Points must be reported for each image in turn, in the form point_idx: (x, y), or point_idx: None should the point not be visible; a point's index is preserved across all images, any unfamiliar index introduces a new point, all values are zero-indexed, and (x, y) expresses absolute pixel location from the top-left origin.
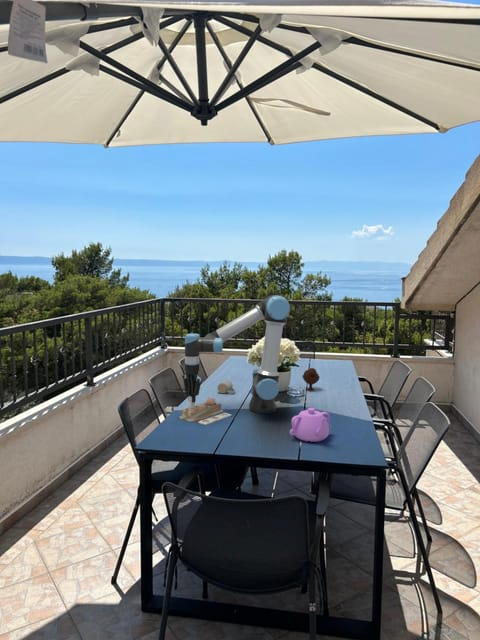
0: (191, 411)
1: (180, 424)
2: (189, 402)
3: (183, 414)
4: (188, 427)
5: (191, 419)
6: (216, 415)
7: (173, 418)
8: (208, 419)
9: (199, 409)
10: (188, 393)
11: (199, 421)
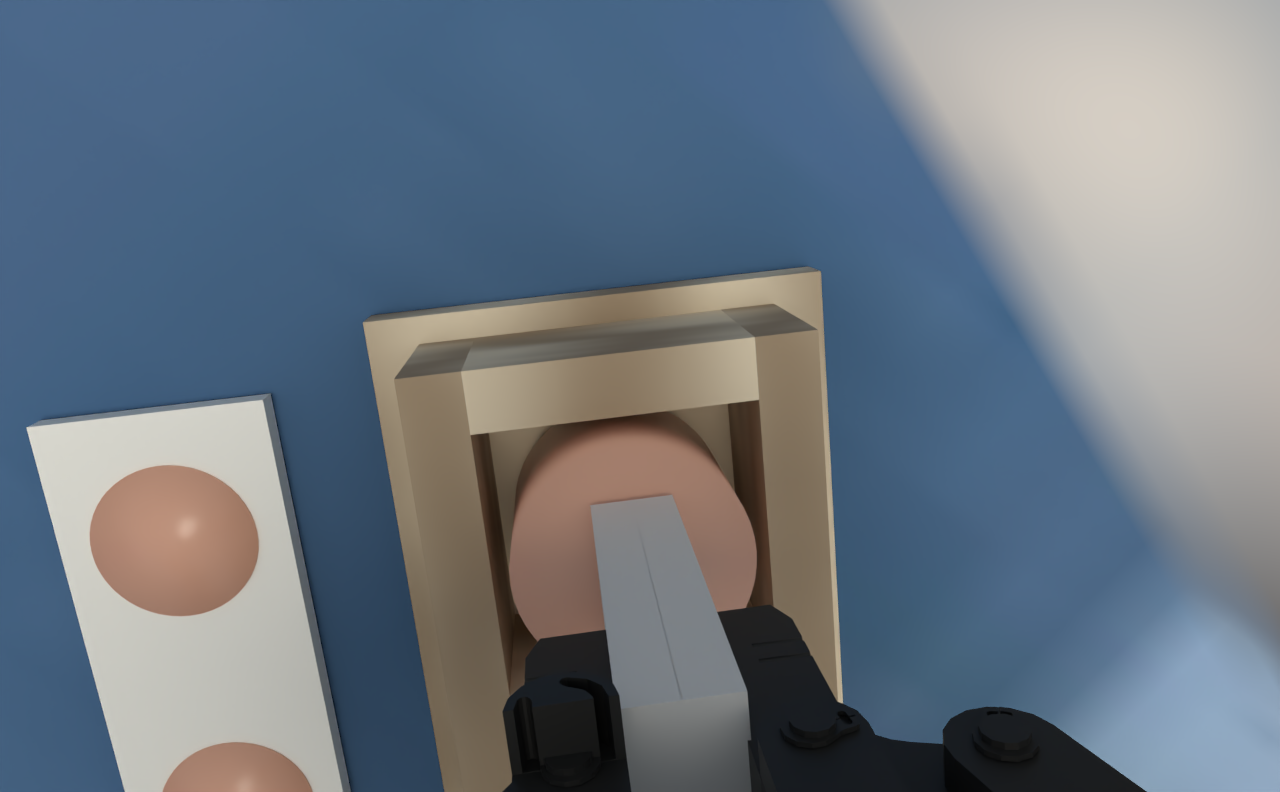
0: (546, 467)
1: (431, 11)
2: (682, 569)
3: (718, 320)
4: (123, 21)
5: (433, 342)
6: None
7: (884, 155)
8: (244, 652)
9: None
10: (838, 762)
11: (249, 427)
